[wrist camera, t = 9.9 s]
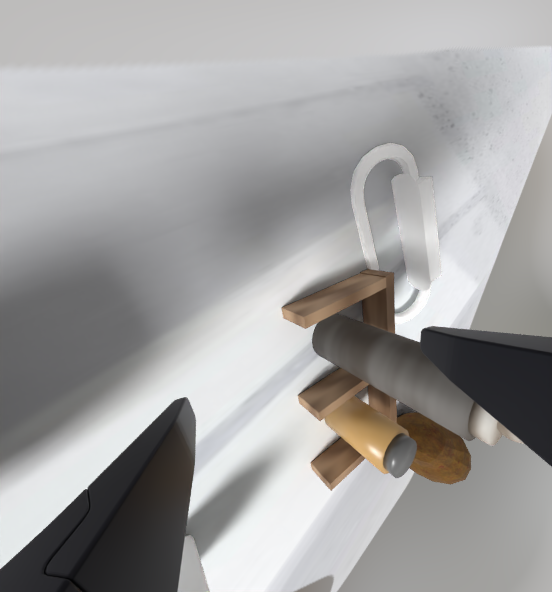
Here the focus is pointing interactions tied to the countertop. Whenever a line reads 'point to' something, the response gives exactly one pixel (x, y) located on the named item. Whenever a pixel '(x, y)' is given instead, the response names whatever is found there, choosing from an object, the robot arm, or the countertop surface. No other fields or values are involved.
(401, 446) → the amber jar
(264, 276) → the countertop surface
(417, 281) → the rolling pin
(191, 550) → the eye dropper bottle
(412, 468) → the potato
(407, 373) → the pepper mill
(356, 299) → the slot rack
